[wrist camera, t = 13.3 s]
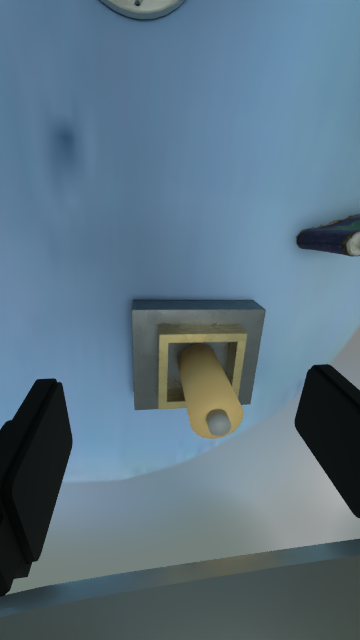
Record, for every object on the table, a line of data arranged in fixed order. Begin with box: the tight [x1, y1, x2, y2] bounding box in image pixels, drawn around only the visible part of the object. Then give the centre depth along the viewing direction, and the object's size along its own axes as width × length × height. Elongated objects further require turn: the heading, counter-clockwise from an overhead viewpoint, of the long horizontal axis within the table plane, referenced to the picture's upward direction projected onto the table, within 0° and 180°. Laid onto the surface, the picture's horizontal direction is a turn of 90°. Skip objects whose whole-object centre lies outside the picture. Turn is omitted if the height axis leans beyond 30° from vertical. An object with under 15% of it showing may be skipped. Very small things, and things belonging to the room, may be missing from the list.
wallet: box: [296, 214, 360, 256], centre depth 29 cm, size 9×3×11 cm, turn 105°
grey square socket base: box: [132, 300, 266, 410], centre depth 34 cm, size 14×16×6 cm
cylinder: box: [178, 344, 243, 439], centre depth 28 cm, size 5×5×11 cm
